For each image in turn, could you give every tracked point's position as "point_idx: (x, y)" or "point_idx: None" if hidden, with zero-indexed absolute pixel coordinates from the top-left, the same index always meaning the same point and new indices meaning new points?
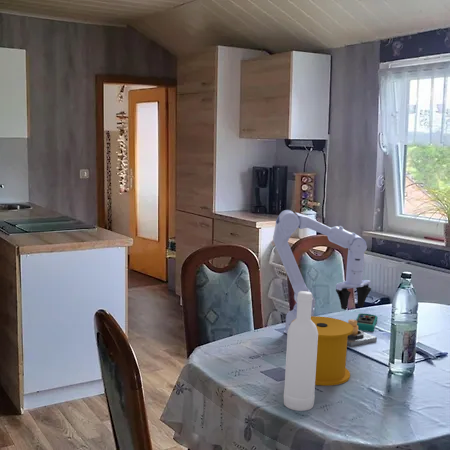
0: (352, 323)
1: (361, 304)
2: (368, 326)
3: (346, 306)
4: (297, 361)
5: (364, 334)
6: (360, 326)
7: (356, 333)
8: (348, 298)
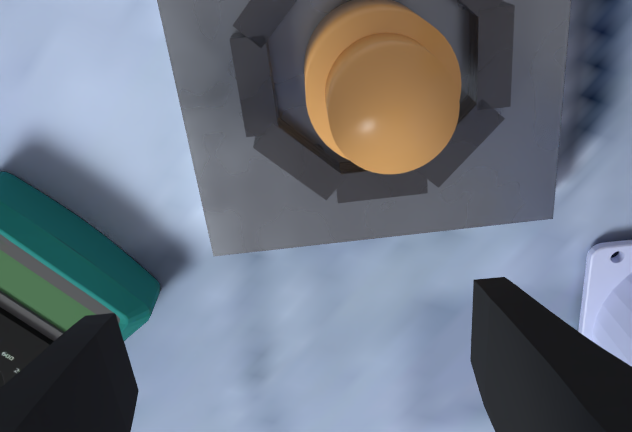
0: (435, 58)
1: (100, 355)
2: (31, 218)
3: (525, 301)
4: None
5: (219, 22)
6: (105, 262)
7: (361, 2)
8: (593, 412)
